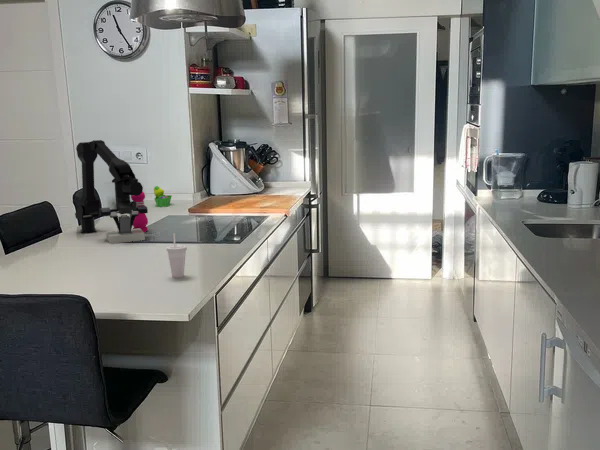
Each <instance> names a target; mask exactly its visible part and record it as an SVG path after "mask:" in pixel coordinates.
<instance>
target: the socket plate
mask: <svg viewBox="0 0 600 450" xmlns="http://www.w3.org/2000/svg"><path fill="white" fill-rule="evenodd" d="M105 233H106V239H107V241H108V243H109V244H110V243H111V244H118V243H119V244H121V243H133V242H141V241H142V240H144V241H146V235H145V234H146V232H143V231H142V230H141V229H140V228H137V229H133V228H132V229H131V233H125V234H120V232H119V230H118V229H115V230H106V232H105ZM140 240H141V241H140ZM132 241H133V242H132Z"/></svg>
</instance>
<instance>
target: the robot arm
mask: <svg viewBox="0 0 600 450" xmlns="http://www.w3.org/2000/svg"><path fill="white" fill-rule="evenodd" d="M75 147H76V148H75V149H76V155H77V158H78V159H79V161H80V162H81V179H82V180H81V181H82V183H81V185H82V196H81V197H80V199H79V202H78V208H77V209H76V212H75V213H74V215H75V219H77V220H80V226H81V227H80V228H81V229H79V230H80V233H81V234H85V233H93V232H94V233H96V232H97V229H96V224H95V218H98V217H109V218H111V219H112V218H113V220H114V223H115V225H116V227H117V230H119V232H120V225H119V215H118V214H120V215H129V217H130V229H133V222H134V219H135V217H136V216H138V215H139V214H138V212H139V213H140V214H143V213H145V214H148V213H149V211H148V210H149V209H148V207H147V206H146V205H145V204H144V205H136V201H133V200H132V201H131V195H134V196H138V195H140V194H141V193H142V191H143V189H144V186H143V185H142V183H141V182H140V181H139V179H138V178H136V174H135V173H134V172H133V169H132V166H131V165H130V164H129V163H128V162H127V161H125V160H123V159H120V158H119V157H117V156H116V155H115V153H114V152H113V151H112V150H111V149H110V148H109V146H107V144H106V143H105V141H104V140H102V139H98V140H96V139H95V140H91V141H83V142H78V144H77V145H76V146H75ZM98 156H99V157H100V158H101V159H102V161H104V163H106V165H107V166H108V171H109V173H110V174H111V176H112V177H113V179H112V180H111V183H113V184H114V193H115V195H114V196H115V207H116V208H112V209H111V208H110V207H100V206H101V205H100V203H101V202H100V201H101V200H100V199H98V198H97V197H96V195H95V162H96V160H97V158H98ZM143 192H144V191H143Z"/></svg>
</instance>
